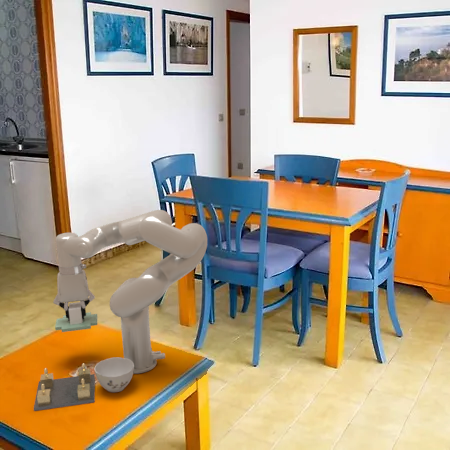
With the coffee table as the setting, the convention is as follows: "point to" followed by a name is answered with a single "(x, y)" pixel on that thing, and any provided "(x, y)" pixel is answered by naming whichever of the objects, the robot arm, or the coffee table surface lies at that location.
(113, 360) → the teacup
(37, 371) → the coffee table surface
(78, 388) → the chassis
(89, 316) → the circuit board
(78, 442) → the coffee table surface
